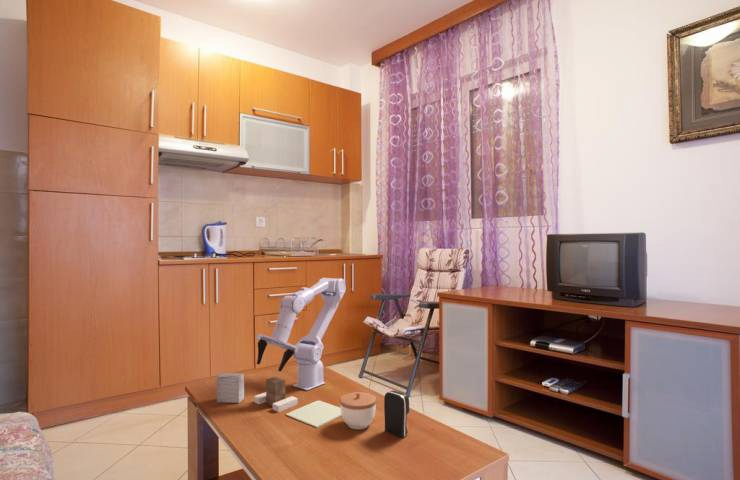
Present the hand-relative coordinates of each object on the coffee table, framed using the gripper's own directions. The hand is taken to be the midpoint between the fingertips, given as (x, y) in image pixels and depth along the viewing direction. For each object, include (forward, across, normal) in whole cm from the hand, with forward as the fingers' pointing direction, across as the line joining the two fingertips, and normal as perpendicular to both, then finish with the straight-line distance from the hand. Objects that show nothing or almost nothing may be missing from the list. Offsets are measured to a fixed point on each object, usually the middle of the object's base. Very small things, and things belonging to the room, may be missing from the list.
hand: (268, 367), depth 136 cm
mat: (+9, +18, -10) cm, 22 cm away
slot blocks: (+10, +7, +4) cm, 12 cm away
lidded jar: (+10, +27, -22) cm, 36 cm away
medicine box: (+13, -6, +13) cm, 19 cm away
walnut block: (+10, +7, +4) cm, 12 cm away
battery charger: (+9, +35, -32) cm, 48 cm away
